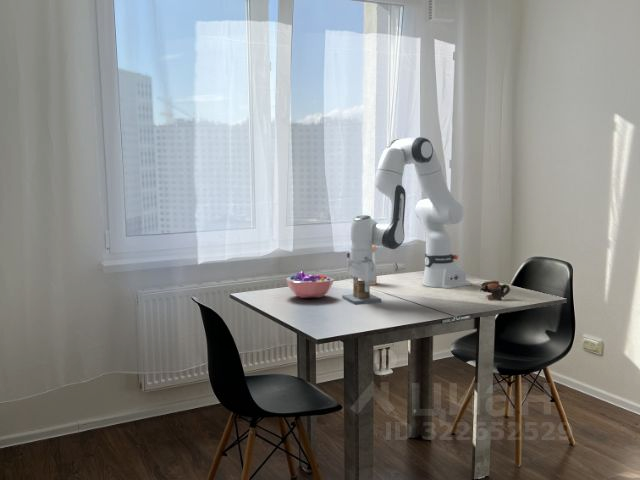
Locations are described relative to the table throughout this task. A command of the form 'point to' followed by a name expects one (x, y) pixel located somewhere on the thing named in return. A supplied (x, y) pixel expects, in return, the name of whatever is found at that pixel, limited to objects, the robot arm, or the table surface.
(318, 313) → the table surface
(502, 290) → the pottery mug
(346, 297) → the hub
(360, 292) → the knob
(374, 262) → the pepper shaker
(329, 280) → the cell model
